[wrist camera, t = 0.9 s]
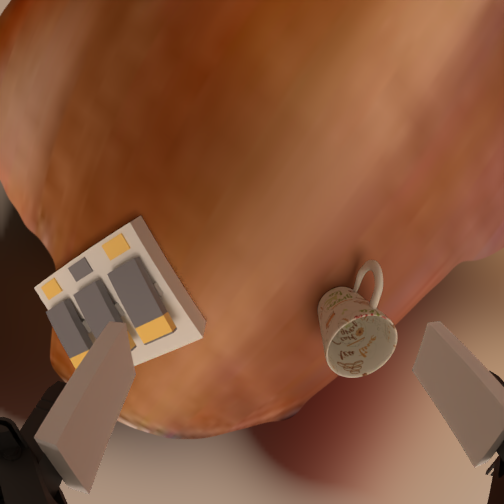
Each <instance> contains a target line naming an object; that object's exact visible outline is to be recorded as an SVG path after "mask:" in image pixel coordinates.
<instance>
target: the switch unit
mask: <svg viewBox="0 0 504 504" xmlns="http://www.w3.org/2000/svg"><path fill="white" fill-rule="evenodd" d="M136 257H140V259H141V261H142V263H143V265H144V267H145V269H146V271H147V273H148V275H149V277H150V279H151V281H152V283H153V285H154V287H155V289H156V291H157V293H158V295H159V297H160V298H161V300H162V302H163V304H164V306H165V308H166V310H167V311H168V313H169V315H170V316H171V318H172V320H173V322H174V324H175V325H176V328H177V330H176V331H175V332H174V333H172V334H170V335H168V336H166V337H163V338H161V339H159V340H156V341H154V342H152V343H149V344H147V345H144V343H143V342H142V340H141V338H140V336H139V335H138V333H137V331H136V329H135V327H134V325H133V323H132V322H131V320H130V318H129V316H128V314H127V312H126V311H125V309H124V307H123V305H122V303H121V301H120V299H119V297H118V295H117V293H116V291H115V289H114V287H113V285H112V283H111V281H110V279H109V277H108V275H107V274H108V273H110V272H111V271H113V270H115V269H116V268H118V267H120V266H121V265H123V264H125V263H126V262H128V261H130V260H132V259H133V258H136ZM100 279H101V280H102V282H103V284H104V286H105V288H106V290H107V292H108V294H109V296H110V298H111V300H112V302H113V304H114V306H115V308H116V310H117V312H118V314H119V316H120V318H121V319H122V321H123V323H126V327H127V330H128V332H129V333H130V335H131V337H132V339H133V340H134V342H135V344H136V346H137V347H136V348H135V349H134V350H133V351H131V354H132V359H133V364H134V366H136V365H138V364H141V363H143V362H146V361H148V360H151V359H153V358H156V357H158V356H161V355H163V354H165V353H168V352H170V351H173V350H175V349H178V348H180V347H182V346H185V345H187V344H189V343H192V342H194V341H196V340H199V339H201V338H203V335H204V330H205V325H206V320H205V319H204V317H203V316H202V314H201V313H200V311H199V310H198V308H197V307H196V305H195V304H194V302H193V300H192V299H191V297H190V296H189V294H188V293H187V291H186V290H185V288H184V286H183V285H182V283H181V282H180V280H179V278H178V277H177V275H176V274H175V272H174V270H173V269H172V267H171V265H170V264H169V262H168V261H167V259H166V257H165V256H164V254H163V252H162V251H161V249H160V247H159V246H158V244H157V242H156V241H155V239H154V237H153V235H152V234H151V232H150V230H149V229H148V227H147V225H146V223H145V222H144V220H143V218H142V216H139V217H137V218H136V219H134V220H133V221H131V222H129V223H128V224H126V225H125V226H123V227H121V228H120V229H118V230H117V231H115V232H114V233H112V234H110V235H109V236H107V237H106V238H104V239H103V240H101V241H100V242H98V243H97V244H95V245H94V246H92V247H91V248H89V249H88V250H86V251H85V252H83V253H82V254H80V255H79V256H77V257H76V258H75V259H73V260H72V261H70V262H69V263H67V264H66V265H65V266H63V267H62V268H60V269H59V270H57V271H56V272H55V273H53V274H52V275H51V276H49V277H48V278H46V279H45V280H44V281H42V282H41V283H40V284H38V285H37V286H36V287H34V288H35V290H36V291H37V293H38V295H39V296H40V298H41V300H42V301H43V303H44V304H45V306H46V307H47V309H48V310H50V309H51V308H53V307H54V306H56V305H57V304H59V303H61V302H62V301H64V300H67V299H69V298H70V300H71V303H72V305H73V307H74V309H75V311H76V313H77V315H78V317H79V319H80V321H81V322H82V324H83V326H84V328H85V330H86V332H87V334H88V336H89V337H90V339H91V341H92V343H93V344H94V342H95V341H96V338H95V337H94V335H93V333H92V331H91V329H90V327H89V326H88V324H87V322H86V320H85V318H84V316H83V314H82V312H81V310H80V308H79V306H78V304H77V302H76V300H75V298H74V296H73V294H75V293H77V292H78V291H80V290H81V289H83V288H85V287H86V286H88V285H90V284H91V283H93V282H95V281H97V280H100Z"/></svg>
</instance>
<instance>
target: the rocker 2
mask: <svg viewBox="0 0 504 504" xmlns="http://www.w3.org/2000/svg"><path fill="white" fill-rule="evenodd" d="M73 296H74V298H75V300H76V302H77V304H78V306H79V308H80V310H81V312H82V314H83V316H84V318H85V320H86V322H87V324H88V326H89V327H90V329H91V331H92V333H93V335H94V337H95V338H96V339H97V338H98V337H99V335H100V334H101V332H102V331H103V330H104V328H105V327H106V325H107V324H108V323H109V321H111V322H121V323H123V321H122V319H121V318H120V316H119V314H118V312H117V310H116V308H115V306H114V304H113V302H112V300H111V298H110V296H109V294H108V292H107V290H106V288H105V286H104V284H103V282H102V280H101V279H100V280H97V281H95V282H93V283H91V284H90V285H88V286H86V287H85V288H83V289H81V290H80V291H78V292H77V293H75V294H73ZM127 333H128V338H129V344H130V349H131V351H133V350H134V349H135V348H136V347H137V346H136V344H135V342H134V340H133V339H132V337H131V335H130V333H129V332H128V330H127Z"/></svg>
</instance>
